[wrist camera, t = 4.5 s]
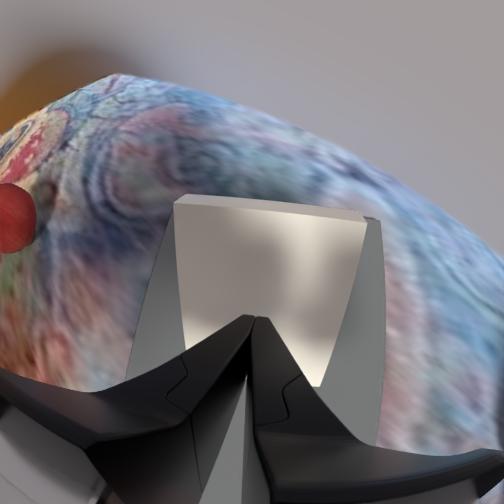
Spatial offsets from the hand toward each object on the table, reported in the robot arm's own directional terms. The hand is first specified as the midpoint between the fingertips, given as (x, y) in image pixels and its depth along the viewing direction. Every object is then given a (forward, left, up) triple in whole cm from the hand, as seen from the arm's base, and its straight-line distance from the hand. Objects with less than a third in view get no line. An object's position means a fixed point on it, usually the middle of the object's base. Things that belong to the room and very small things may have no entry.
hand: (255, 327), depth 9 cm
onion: (-20, +11, -8) cm, 24 cm away
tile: (0, +2, -3) cm, 4 cm away
